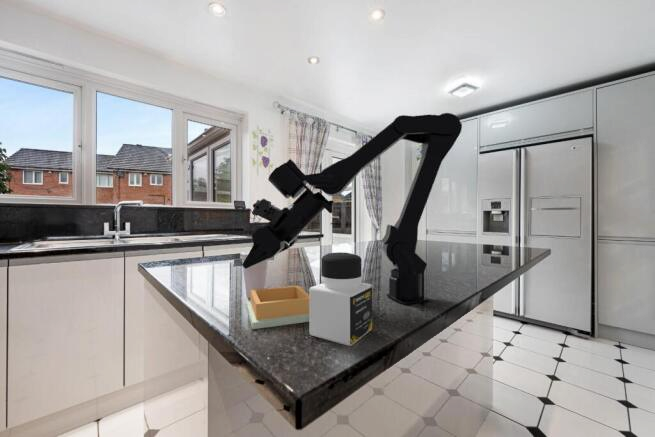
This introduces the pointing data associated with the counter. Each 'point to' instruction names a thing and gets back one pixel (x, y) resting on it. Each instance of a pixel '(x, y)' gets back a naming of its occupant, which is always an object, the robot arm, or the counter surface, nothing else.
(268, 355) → the counter surface
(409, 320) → the counter surface
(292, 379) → the counter surface
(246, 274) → the smoothie
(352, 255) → the medicine bottle
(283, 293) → the box
